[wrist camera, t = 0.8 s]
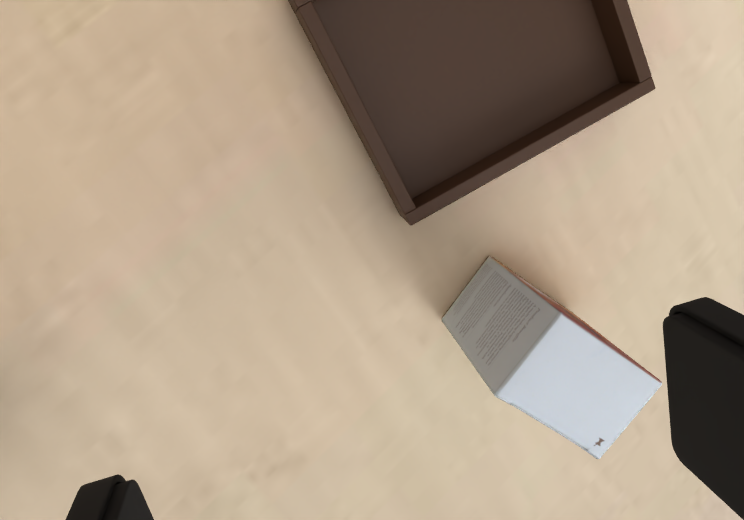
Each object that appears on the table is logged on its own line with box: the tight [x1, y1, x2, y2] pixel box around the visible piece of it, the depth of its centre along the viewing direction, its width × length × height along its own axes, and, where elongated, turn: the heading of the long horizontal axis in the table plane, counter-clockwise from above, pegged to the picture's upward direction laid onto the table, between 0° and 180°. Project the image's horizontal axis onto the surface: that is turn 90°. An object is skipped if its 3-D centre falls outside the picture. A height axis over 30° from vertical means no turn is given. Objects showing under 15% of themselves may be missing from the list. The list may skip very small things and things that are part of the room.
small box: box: [442, 256, 662, 459], centre depth 36 cm, size 8×6×10 cm
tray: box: [288, 0, 655, 225], centre depth 34 cm, size 14×17×3 cm
